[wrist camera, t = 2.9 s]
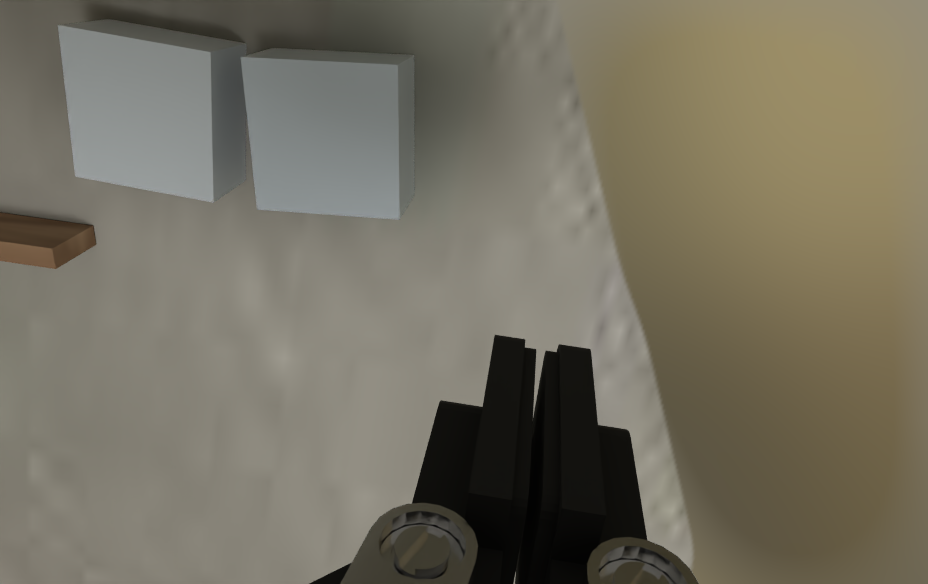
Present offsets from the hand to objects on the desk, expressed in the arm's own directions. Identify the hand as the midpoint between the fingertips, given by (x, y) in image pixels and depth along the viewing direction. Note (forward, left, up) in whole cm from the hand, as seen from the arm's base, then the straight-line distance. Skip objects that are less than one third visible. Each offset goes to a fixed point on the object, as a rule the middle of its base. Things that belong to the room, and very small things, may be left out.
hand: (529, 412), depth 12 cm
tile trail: (0, -9, -19) cm, 21 cm away
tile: (0, -16, -19) cm, 25 cm away
